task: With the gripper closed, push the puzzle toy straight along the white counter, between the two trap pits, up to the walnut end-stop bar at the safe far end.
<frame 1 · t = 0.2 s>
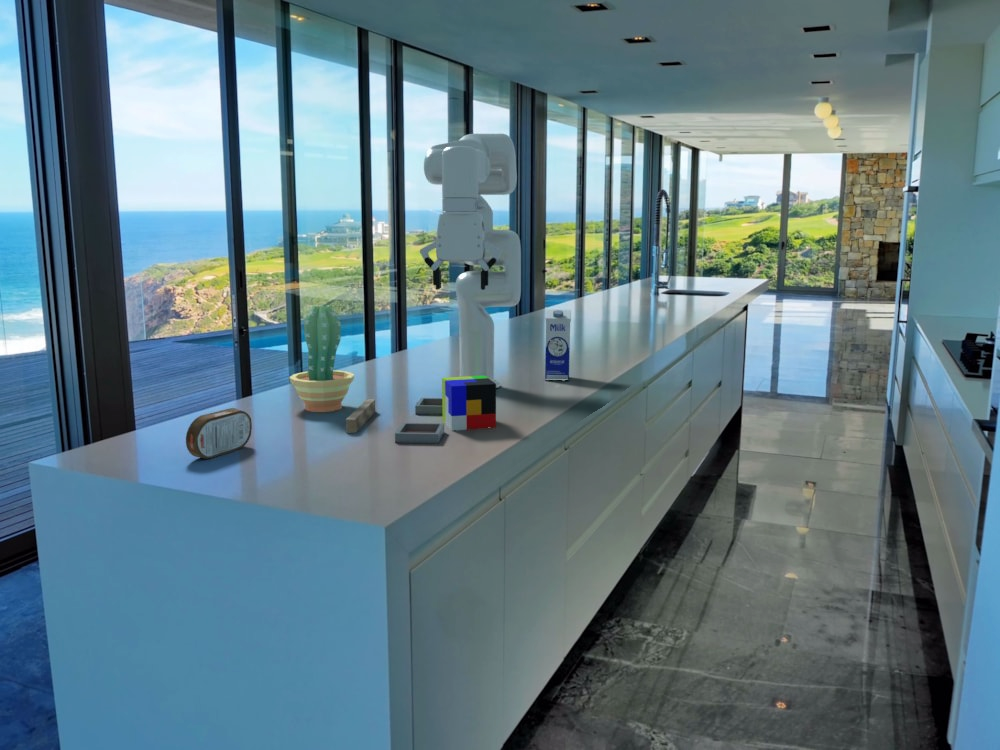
hand: (460, 289, 174), 31 cm above the countertop, fingers open, 9 cm apart
tin: (222, 454, 161), on the countertop
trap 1: (420, 437, 172), on the countertop
puzzle toy: (468, 425, 184), on the countertop
milk carton: (557, 379, 236), on the countertop
potted cactus: (323, 408, 199), on the countertop
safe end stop: (361, 421, 186), on the countertop
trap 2: (437, 410, 197), on the countertop
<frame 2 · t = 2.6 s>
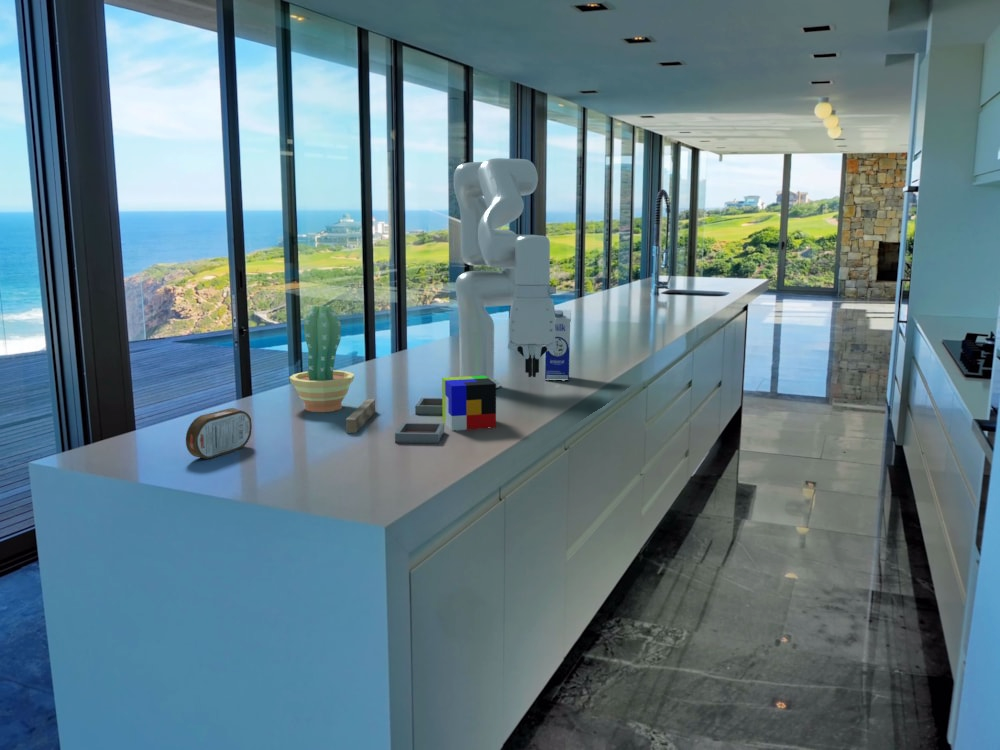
hand: (532, 375, 180), 11 cm above the countertop, fingers closed
nothing on the countertop moved.
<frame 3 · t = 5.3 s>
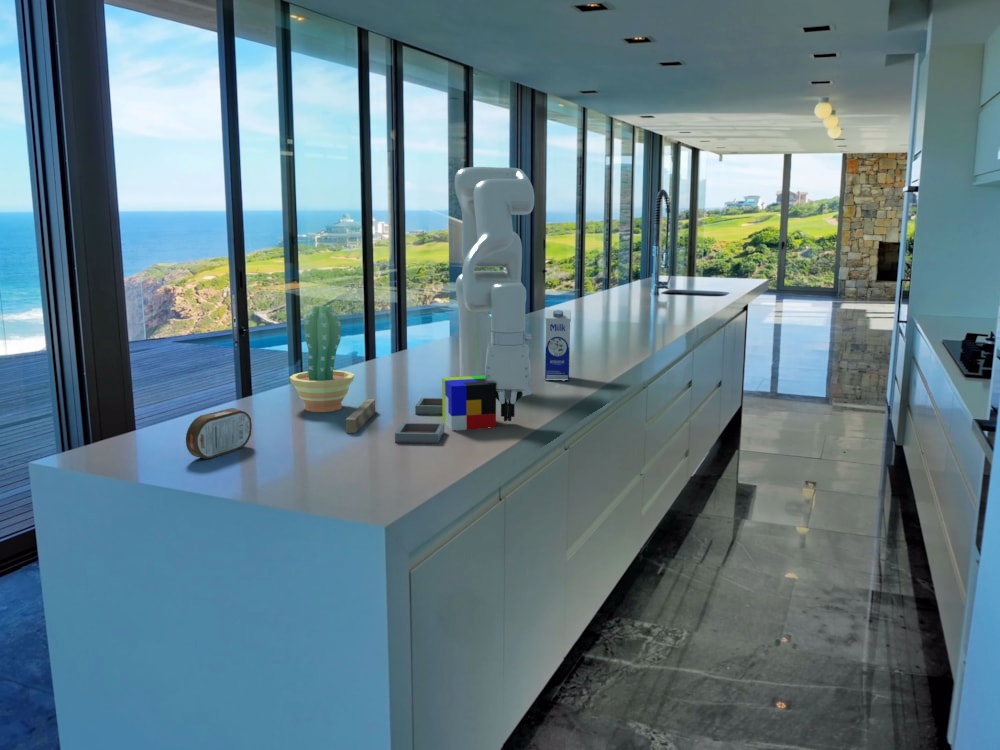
hand: (507, 419, 183), 1 cm above the countertop, fingers closed
puzzle toy: (468, 425, 184), on the countertop, touching gripper
everything else where it was.
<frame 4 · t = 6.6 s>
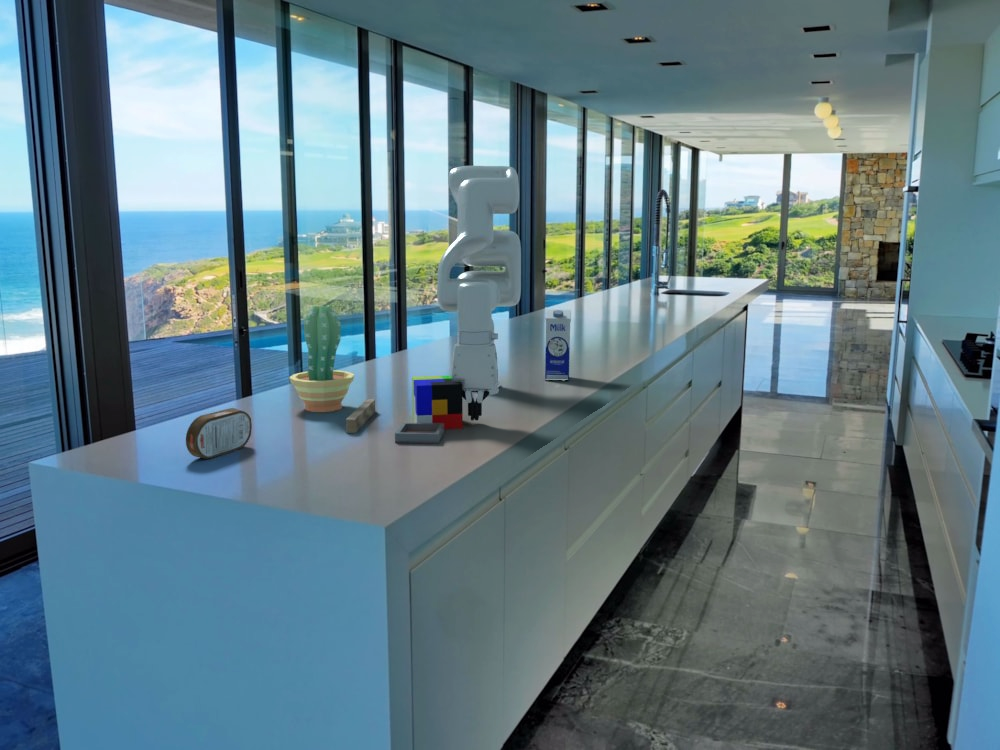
hand: (474, 418, 184), 1 cm above the countertop, fingers closed
puzzle toy: (437, 424, 184), on the countertop, touching gripper
everything else where it was.
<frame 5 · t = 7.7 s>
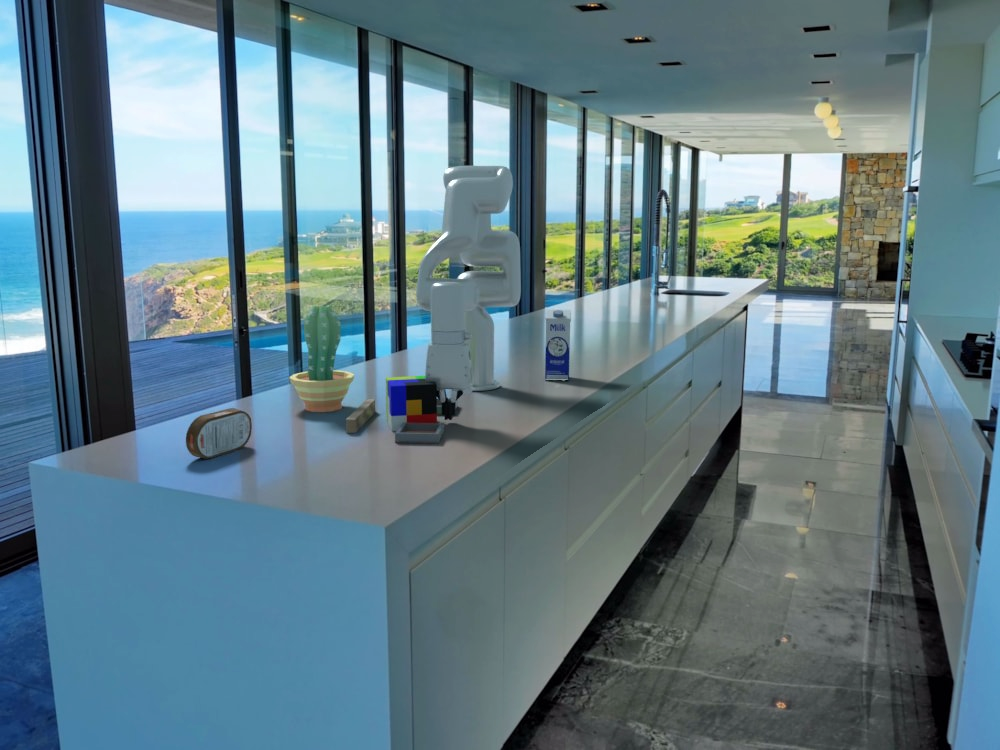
hand: (448, 418, 184), 1 cm above the countertop, fingers closed
puzzle toy: (411, 425, 183), on the countertop, touching gripper
everything else where it was.
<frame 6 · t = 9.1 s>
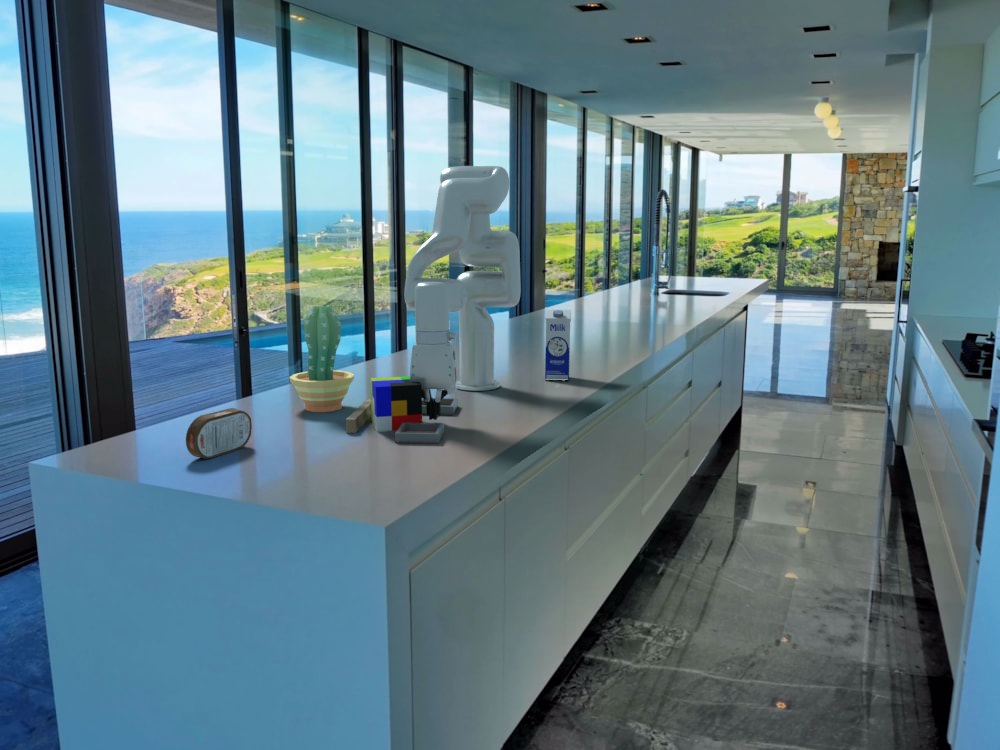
hand: (433, 418, 184), 1 cm above the countertop, fingers closed
puzzle toy: (396, 425, 183), on the countertop, touching gripper
everything else where it was.
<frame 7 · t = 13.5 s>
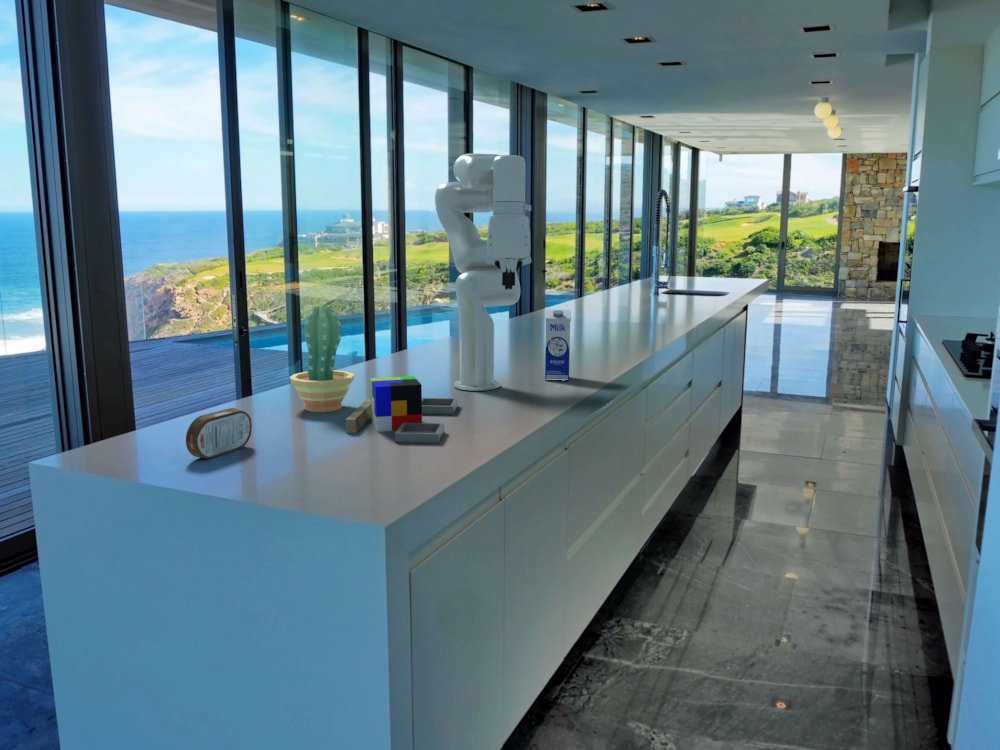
hand: (508, 288, 194), 29 cm above the countertop, fingers closed
puzzle toy: (396, 425, 183), on the countertop
everything else where it was.
at the end: puzzle toy inside the target area (1.7 cm from its centre), on the countertop; puzzle toy touching countertop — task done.
